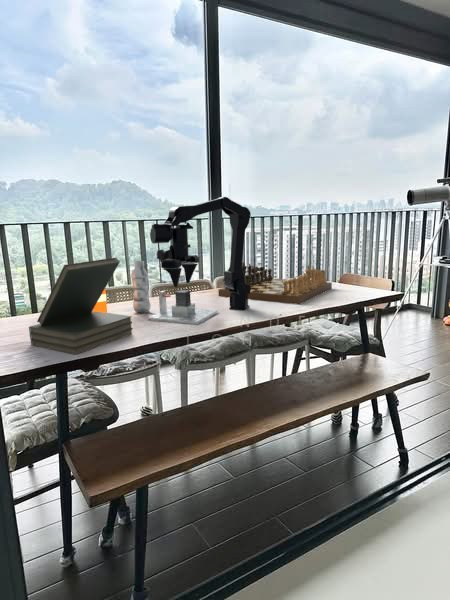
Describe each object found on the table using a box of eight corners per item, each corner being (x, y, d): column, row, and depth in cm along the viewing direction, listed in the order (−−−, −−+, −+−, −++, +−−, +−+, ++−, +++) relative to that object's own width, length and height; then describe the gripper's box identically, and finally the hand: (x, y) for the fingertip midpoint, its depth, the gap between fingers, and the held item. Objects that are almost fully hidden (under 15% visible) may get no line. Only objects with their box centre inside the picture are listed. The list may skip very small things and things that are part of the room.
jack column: (191, 312, 157) (190, 290, 155) (186, 314, 153) (185, 292, 152) (181, 311, 159) (180, 290, 157) (175, 313, 155) (174, 292, 153)
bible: (90, 327, 144) (83, 255, 139) (133, 334, 135) (127, 257, 130) (30, 346, 125) (20, 263, 120) (75, 356, 115) (66, 266, 110)
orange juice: (96, 312, 166) (92, 262, 162) (108, 316, 160) (103, 263, 156) (77, 316, 161) (73, 264, 157) (88, 319, 154) (83, 265, 150)
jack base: (218, 312, 161) (217, 289, 159) (197, 324, 144) (196, 298, 142) (172, 309, 168) (171, 287, 166) (147, 320, 152) (146, 295, 150)
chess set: (331, 289, 205) (332, 259, 202) (299, 305, 172) (300, 269, 169) (259, 284, 226) (259, 256, 223) (218, 297, 194) (217, 265, 191)
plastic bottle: (147, 314, 161) (144, 262, 157) (130, 314, 162) (127, 262, 158) (153, 310, 167) (150, 260, 163) (137, 310, 168) (134, 260, 164)
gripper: (173, 240, 162) (175, 280, 165) (146, 243, 145) (149, 288, 149) (199, 240, 158) (200, 281, 161) (174, 244, 141) (177, 289, 144)
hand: (182, 284), depth 154 cm, fingers open, 9 cm apart
